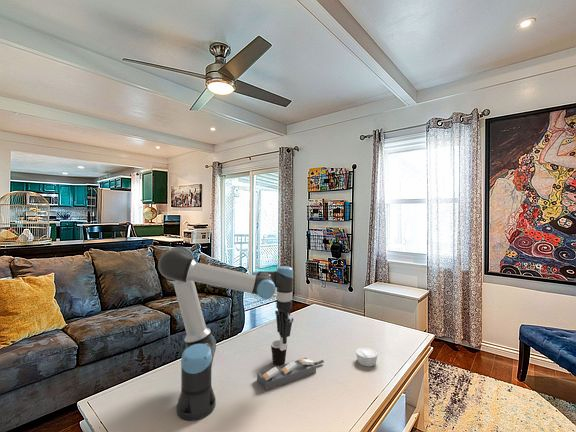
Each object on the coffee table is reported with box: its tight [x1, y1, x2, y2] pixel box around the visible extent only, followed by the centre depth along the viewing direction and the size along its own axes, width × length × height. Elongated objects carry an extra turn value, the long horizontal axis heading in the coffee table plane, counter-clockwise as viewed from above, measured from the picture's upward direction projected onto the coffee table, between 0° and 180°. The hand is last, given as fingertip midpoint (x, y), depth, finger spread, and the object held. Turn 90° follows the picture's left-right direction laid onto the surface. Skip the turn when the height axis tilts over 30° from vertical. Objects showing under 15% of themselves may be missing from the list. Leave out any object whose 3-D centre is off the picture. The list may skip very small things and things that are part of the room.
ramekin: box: [355, 347, 379, 367], centre depth 152 cm, size 11×11×5 cm
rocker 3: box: [298, 358, 315, 365], centre depth 142 cm, size 7×3×1 cm, turn 122°
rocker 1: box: [263, 366, 279, 381], centre depth 131 cm, size 7×3×1 cm, turn 121°
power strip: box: [256, 357, 325, 392], centre depth 140 cm, size 36×9×4 cm, turn 121°
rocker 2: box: [281, 360, 297, 375], centre depth 136 cm, size 7×3×1 cm, turn 121°
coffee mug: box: [270, 339, 288, 367], centre depth 152 cm, size 12×9×10 cm
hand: (283, 349), depth 134 cm, fingers closed
